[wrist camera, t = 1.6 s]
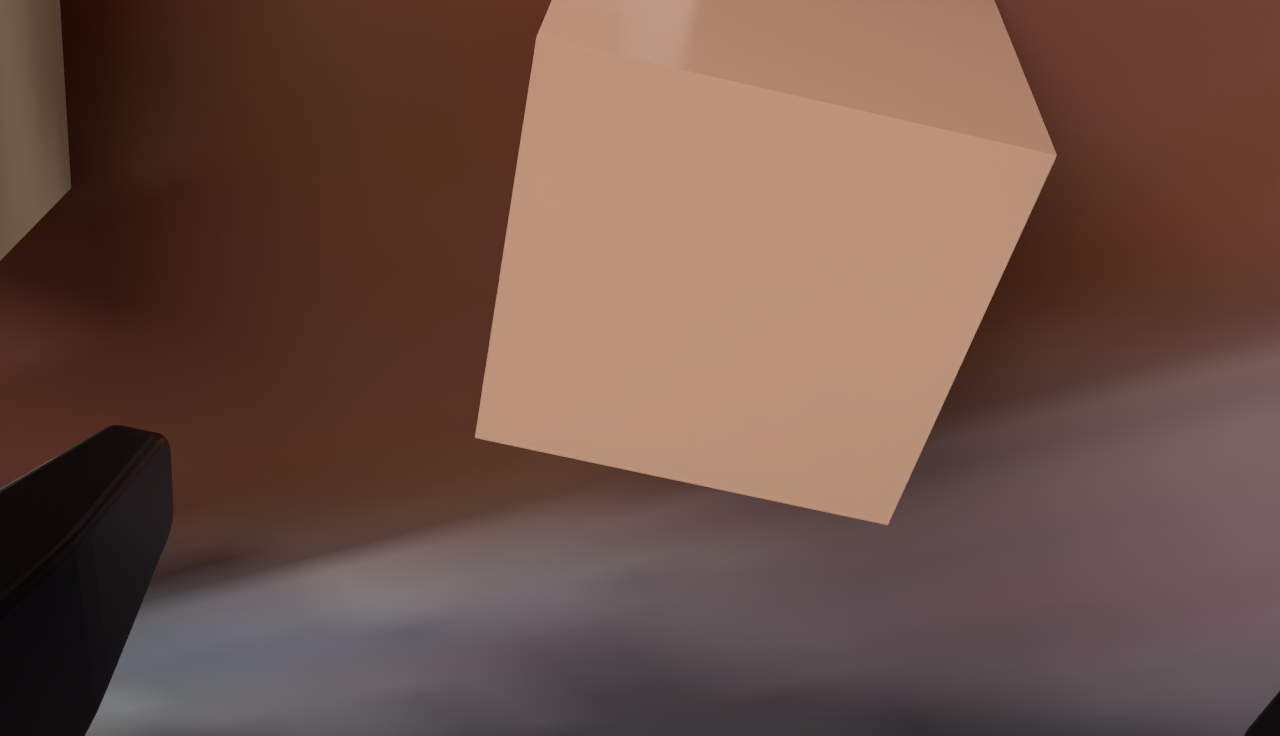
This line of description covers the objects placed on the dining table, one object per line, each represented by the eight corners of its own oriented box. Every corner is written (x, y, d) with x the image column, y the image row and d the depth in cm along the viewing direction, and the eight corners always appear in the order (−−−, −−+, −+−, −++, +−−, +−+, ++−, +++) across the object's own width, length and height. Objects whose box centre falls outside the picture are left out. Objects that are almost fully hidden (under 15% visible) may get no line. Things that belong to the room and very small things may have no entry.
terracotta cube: (984, -24, 15) (1057, 155, 11) (863, 295, 18) (887, 525, 14) (600, -114, 15) (535, 36, 11) (541, 224, 18) (475, 438, 14)
